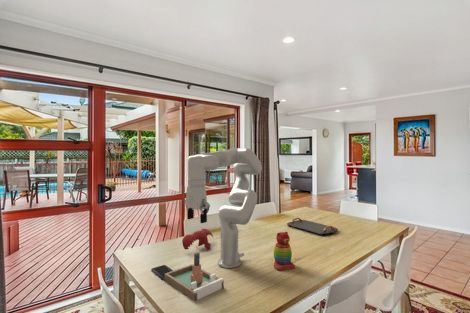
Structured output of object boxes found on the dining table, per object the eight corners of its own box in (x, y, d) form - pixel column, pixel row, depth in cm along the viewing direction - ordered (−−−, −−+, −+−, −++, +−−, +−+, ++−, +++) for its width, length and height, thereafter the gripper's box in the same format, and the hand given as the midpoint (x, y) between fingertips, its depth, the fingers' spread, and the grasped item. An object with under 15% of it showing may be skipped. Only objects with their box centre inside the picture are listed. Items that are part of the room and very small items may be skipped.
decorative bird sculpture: (216, 248, 174) (204, 230, 180) (224, 241, 171) (212, 222, 176) (188, 263, 150) (175, 241, 155) (197, 255, 147) (183, 232, 152)
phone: (163, 279, 120) (150, 268, 132) (163, 281, 120) (150, 270, 132) (178, 274, 125) (165, 264, 137) (178, 276, 125) (165, 266, 137)
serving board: (283, 226, 216) (283, 218, 216) (301, 222, 229) (301, 215, 229) (323, 238, 184) (323, 229, 184) (342, 232, 198) (342, 224, 198)
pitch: (192, 270, 132) (192, 260, 132) (223, 287, 114) (223, 276, 114) (164, 280, 121) (164, 269, 121) (194, 301, 104) (194, 288, 104)
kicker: (199, 280, 118) (199, 251, 118) (202, 281, 117) (202, 252, 117) (190, 283, 115) (190, 254, 115) (193, 285, 113) (193, 255, 113)
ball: (210, 291, 112) (205, 285, 115) (212, 284, 111) (207, 278, 114) (203, 295, 109) (197, 288, 112) (205, 287, 108) (199, 281, 111)
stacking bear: (277, 271, 131) (277, 236, 130) (269, 263, 140) (269, 230, 140) (297, 268, 134) (297, 234, 134) (287, 261, 143) (287, 229, 143)
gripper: (178, 182, 121) (179, 218, 121) (201, 185, 108) (202, 226, 109) (191, 180, 126) (192, 215, 126) (215, 183, 114) (215, 222, 114)
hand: (196, 220), depth 118 cm, fingers open, 9 cm apart
